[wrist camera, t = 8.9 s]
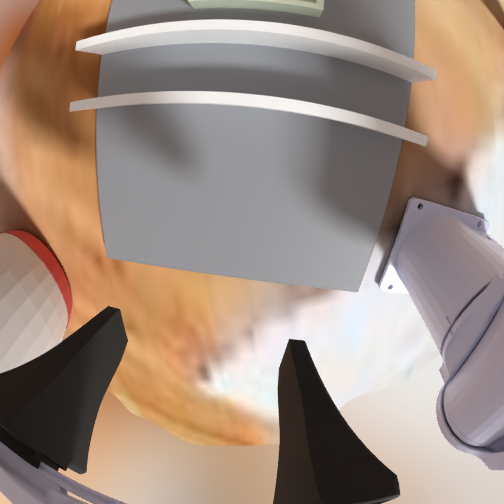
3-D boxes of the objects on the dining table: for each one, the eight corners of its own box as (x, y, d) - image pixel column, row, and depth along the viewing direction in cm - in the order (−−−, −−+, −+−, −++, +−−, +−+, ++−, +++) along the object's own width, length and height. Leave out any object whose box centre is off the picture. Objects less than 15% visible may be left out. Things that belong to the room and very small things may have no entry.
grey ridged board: (407, -27, 8) (430, -45, 4) (354, 284, 21) (367, 318, 17) (134, -48, 8) (111, -67, 4) (112, 251, 21) (88, 278, 17)
